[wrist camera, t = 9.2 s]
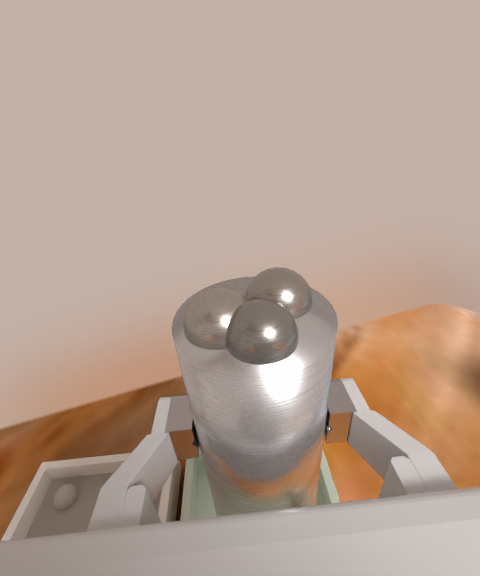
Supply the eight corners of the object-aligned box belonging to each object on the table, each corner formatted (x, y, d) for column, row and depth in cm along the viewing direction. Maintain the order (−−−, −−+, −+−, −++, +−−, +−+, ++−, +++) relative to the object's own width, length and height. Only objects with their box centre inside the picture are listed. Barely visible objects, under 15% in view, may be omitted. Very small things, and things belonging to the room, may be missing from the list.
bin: (169, 784, 13) (154, 785, 11) (192, 466, 25) (187, 446, 24) (404, 753, 13) (420, 749, 12) (315, 453, 25) (317, 432, 24)
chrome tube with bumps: (213, 565, 12) (146, 350, 6) (215, 449, 16) (176, 257, 10) (330, 552, 12) (377, 326, 6) (300, 440, 16) (311, 244, 10)
